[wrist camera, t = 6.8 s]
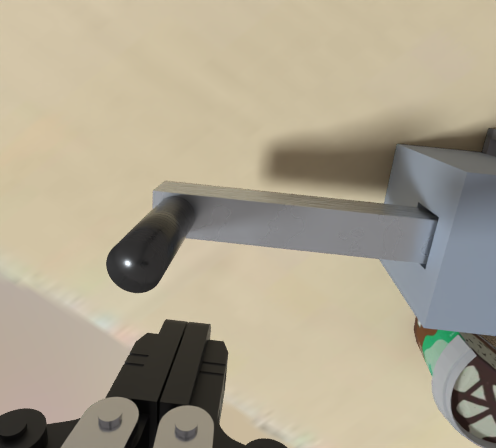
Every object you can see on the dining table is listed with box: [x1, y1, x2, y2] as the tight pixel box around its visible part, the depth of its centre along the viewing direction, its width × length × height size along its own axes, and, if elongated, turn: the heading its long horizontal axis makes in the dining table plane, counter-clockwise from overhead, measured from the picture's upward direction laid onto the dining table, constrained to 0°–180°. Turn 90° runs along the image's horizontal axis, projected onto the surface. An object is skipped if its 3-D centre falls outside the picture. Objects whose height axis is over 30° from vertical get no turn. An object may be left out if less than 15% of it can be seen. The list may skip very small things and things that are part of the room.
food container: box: [414, 317, 496, 448], centre depth 34 cm, size 12×6×10 cm, turn 51°
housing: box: [379, 144, 496, 336], centre depth 27 cm, size 12×7×16 cm, turn 175°
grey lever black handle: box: [106, 181, 439, 293], centre depth 23 cm, size 3×25×11 cm, turn 85°
